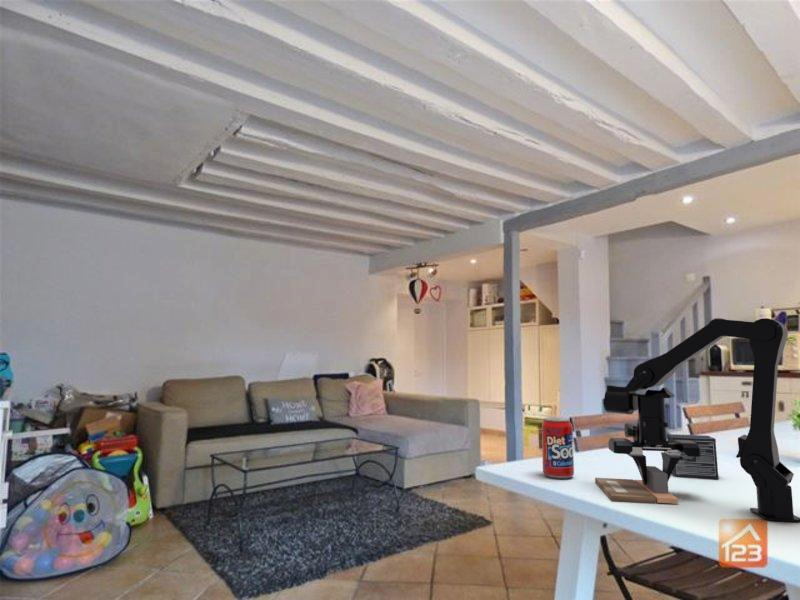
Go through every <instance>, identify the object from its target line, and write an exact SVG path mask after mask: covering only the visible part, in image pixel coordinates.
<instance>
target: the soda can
mask: <svg viewBox="0 0 800 600" xmlns="http://www.w3.org/2000/svg"><path fill="white" fill-rule="evenodd" d="M543 420H544V421H542V423H541V446H542V447H541V449H542V450H541V452H542V454H541V456H542V473H543V474H544V475H545V476H547V477H549V478H552V479H558V480H566V479H570V478H571V477H573V476H574V475H575V464H574V462H575V459H574V457H575V456H574V427H573V425H572V423H571V422H570V421H571V419H570V418H566V417H559V416H557V417H556V416H551V417H544V419H543Z"/></svg>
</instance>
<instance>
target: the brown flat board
mask: <svg viewBox="0 0 800 600" xmlns="http://www.w3.org/2000/svg"><path fill="white" fill-rule="evenodd" d="M594 478H595V479H594V483H595V484H596V485H597V487H599V488H600V489H601V491H602V492H603V493H604V494H605V495H606V496H607V498H608V499H609V500H610V501H611V502H617V503H618V502H620V503H639V504H655V503H656V504H657V502H656V498H655V497H654V496H653V495H652V494H650V493H649V492H648V491H647V490H645V489H644V488H643V487H642V486H641V485H639V484H638V483H637V482H636V481H634V480H635V479H632V478H631V479H629V478H628V479H627V478H609V477H607V478H606V477H594Z"/></svg>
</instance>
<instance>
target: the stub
mask: <svg viewBox="0 0 800 600" xmlns="http://www.w3.org/2000/svg"><path fill="white" fill-rule="evenodd" d="M646 466H647V485H645V484H644V483H643V480H642V479H633V480H634V481H636V482H637V483H638V484H639V485H641V486H642V487H643V488H644V489H645V490H647V491H648V492H649V493H650V494H652V495H653V496H654V497H655V498H656V504H657V503H659V504H675V505H676V504H679V499H678V497H676V496H674V495H673V494H672V493H671V492H669V481H668V474H666V473H665V472H663V471H662V469H660V468H659V467H657V466H651V465H646Z"/></svg>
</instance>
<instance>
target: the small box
mask: <svg viewBox="0 0 800 600" xmlns="http://www.w3.org/2000/svg"><path fill="white" fill-rule="evenodd" d="M666 437H667V441H668V443H673V442H674V440H690V441H693V442H695V443H697V444H698V445H699V446H700V448H701V457H695V456H686V455H685V454H684V453H683V452H681V456H682V457H683V460H679V461H678V463H677V465H676V466H675V468H674V470H673V471H672V474H671V476H673V477H674V476H675V477H674V478H688V479H689V478H690V479H691V478H692V479H708V480H719V479H720V476H719V471H718V470H719V468H718V455H717V444H716V442H717V440H716V438H715V437H712V436H709V435H703V434H702V435H701V434H700V435H699V434H673V433H671V434H670V433H666Z"/></svg>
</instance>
